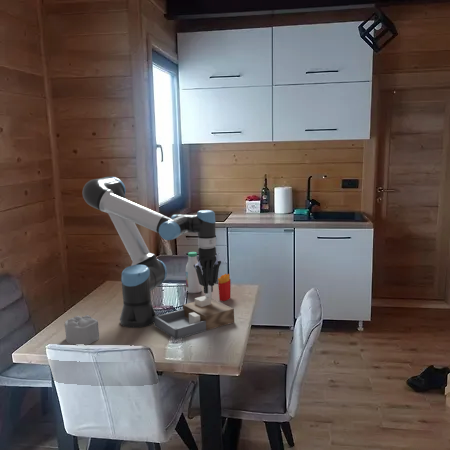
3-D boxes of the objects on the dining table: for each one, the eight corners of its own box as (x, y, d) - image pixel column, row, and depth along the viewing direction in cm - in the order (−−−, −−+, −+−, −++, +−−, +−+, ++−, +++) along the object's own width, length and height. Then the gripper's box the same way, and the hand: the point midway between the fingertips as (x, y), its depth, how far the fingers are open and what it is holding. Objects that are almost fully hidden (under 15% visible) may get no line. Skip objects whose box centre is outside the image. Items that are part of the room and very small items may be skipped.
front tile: (200, 327, 200) (195, 328, 199) (194, 323, 205) (189, 324, 203) (200, 315, 199) (194, 316, 198) (194, 312, 204) (188, 313, 202)
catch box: (175, 339, 192) (175, 329, 191) (154, 325, 206) (153, 316, 205) (206, 330, 199) (205, 321, 199) (183, 317, 214) (183, 309, 213)
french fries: (226, 295, 242) (225, 272, 239) (232, 297, 239) (232, 273, 237) (216, 301, 234) (215, 276, 232) (223, 302, 232) (222, 277, 230)
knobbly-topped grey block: (83, 347, 187) (81, 325, 186) (59, 341, 194) (57, 320, 192) (102, 337, 196) (101, 316, 195) (79, 331, 202) (77, 311, 201)
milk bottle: (204, 289, 252) (202, 251, 249) (197, 294, 245) (195, 255, 242) (191, 288, 255) (189, 250, 252) (183, 292, 249) (181, 253, 245)
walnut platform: (206, 330, 199) (205, 316, 198) (183, 317, 214) (182, 304, 213) (234, 322, 207) (233, 308, 206) (210, 310, 222) (210, 297, 221)
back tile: (201, 306, 209) (200, 301, 209) (194, 303, 213) (194, 298, 213) (210, 304, 212) (210, 298, 212) (204, 301, 216) (204, 295, 216)
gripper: (198, 250, 204) (200, 305, 208) (224, 246, 211) (225, 298, 215) (189, 247, 210) (191, 300, 214) (214, 243, 217) (215, 294, 221)
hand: (208, 299), depth 215 cm, fingers closed
